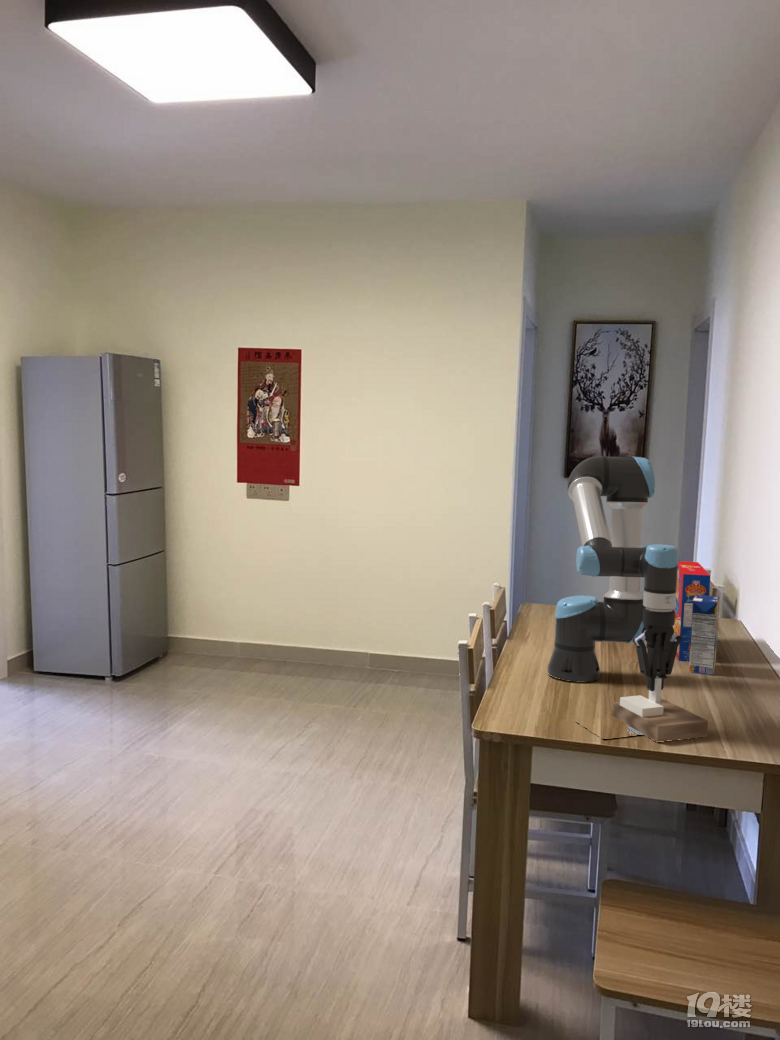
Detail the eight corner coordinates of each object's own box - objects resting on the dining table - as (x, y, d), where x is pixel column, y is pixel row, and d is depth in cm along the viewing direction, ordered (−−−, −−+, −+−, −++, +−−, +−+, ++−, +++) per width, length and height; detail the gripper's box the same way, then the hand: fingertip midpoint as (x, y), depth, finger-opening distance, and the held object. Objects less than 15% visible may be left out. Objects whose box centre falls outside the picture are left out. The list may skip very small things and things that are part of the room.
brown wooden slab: (612, 717, 209) (613, 702, 208) (659, 712, 213) (660, 697, 213) (657, 743, 192) (658, 726, 191) (706, 737, 196) (707, 720, 196)
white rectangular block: (619, 705, 206) (620, 697, 206) (640, 702, 208) (640, 695, 208) (642, 717, 197) (642, 708, 197) (663, 714, 199) (663, 706, 199)
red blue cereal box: (669, 639, 290) (673, 561, 287) (693, 641, 288) (697, 562, 285) (678, 661, 263) (683, 574, 260) (705, 663, 261) (710, 575, 258)
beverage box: (688, 672, 250) (692, 600, 248) (691, 663, 260) (695, 594, 258) (713, 675, 247) (717, 603, 245) (715, 666, 257) (719, 596, 255)
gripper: (646, 613, 195) (641, 710, 198) (691, 610, 200) (686, 705, 202) (627, 606, 203) (622, 700, 205) (671, 604, 207) (666, 696, 209)
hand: (654, 702), depth 204 cm, fingers closed
